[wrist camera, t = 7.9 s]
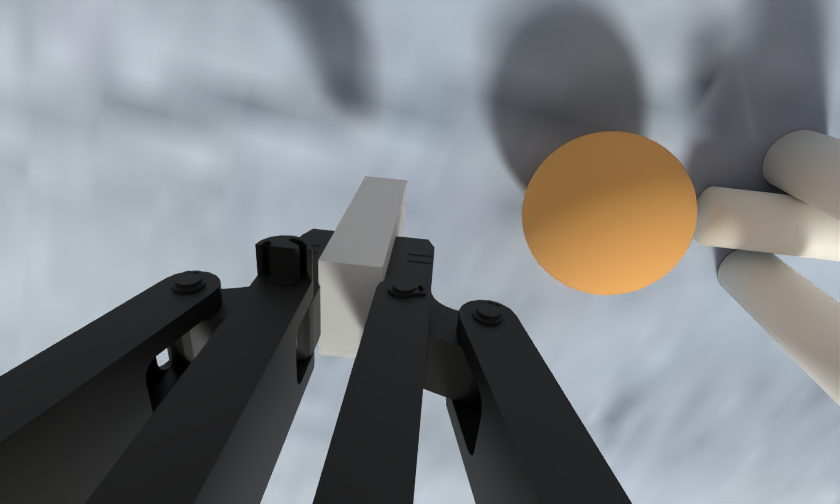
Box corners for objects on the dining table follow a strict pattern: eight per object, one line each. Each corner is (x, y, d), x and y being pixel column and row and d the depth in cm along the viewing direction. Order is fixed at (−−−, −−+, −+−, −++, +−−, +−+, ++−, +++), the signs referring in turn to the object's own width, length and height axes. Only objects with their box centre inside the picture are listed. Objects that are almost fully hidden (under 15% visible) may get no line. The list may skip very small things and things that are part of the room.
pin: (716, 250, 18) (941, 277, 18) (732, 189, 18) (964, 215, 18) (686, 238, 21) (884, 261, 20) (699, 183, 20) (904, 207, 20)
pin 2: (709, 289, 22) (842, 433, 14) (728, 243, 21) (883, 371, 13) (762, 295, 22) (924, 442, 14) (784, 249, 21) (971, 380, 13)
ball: (707, 329, 16) (629, 263, 22) (764, 149, 14) (662, 128, 20) (531, 320, 16) (499, 255, 21) (563, 135, 14) (518, 118, 19)
